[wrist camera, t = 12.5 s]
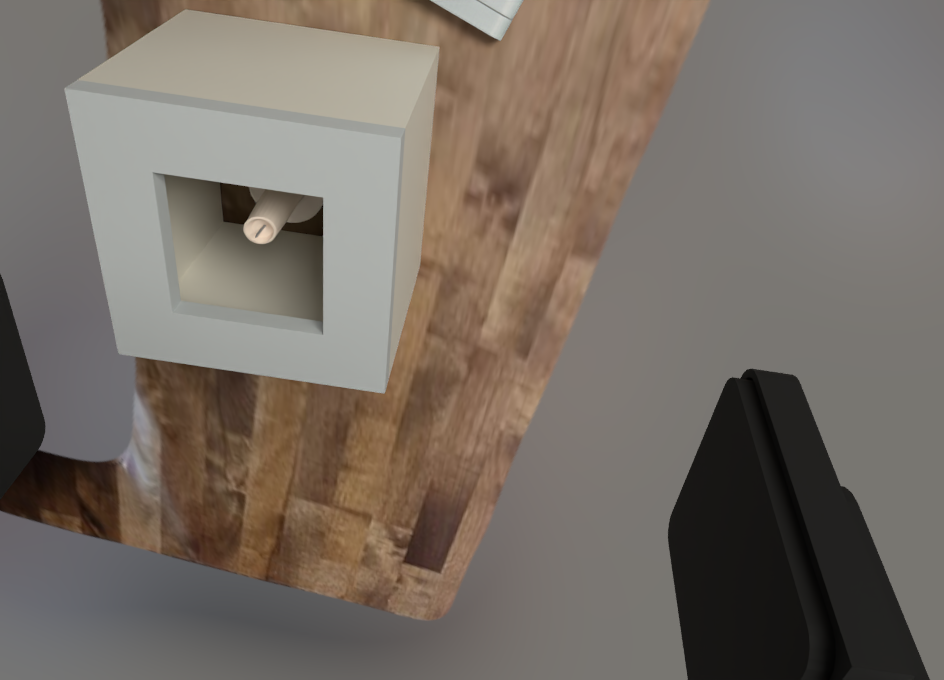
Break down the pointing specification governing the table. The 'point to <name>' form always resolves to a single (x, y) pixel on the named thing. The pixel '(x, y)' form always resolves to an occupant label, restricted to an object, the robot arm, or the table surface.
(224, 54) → the drop box
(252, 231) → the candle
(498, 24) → the hard drive
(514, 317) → the table surface
